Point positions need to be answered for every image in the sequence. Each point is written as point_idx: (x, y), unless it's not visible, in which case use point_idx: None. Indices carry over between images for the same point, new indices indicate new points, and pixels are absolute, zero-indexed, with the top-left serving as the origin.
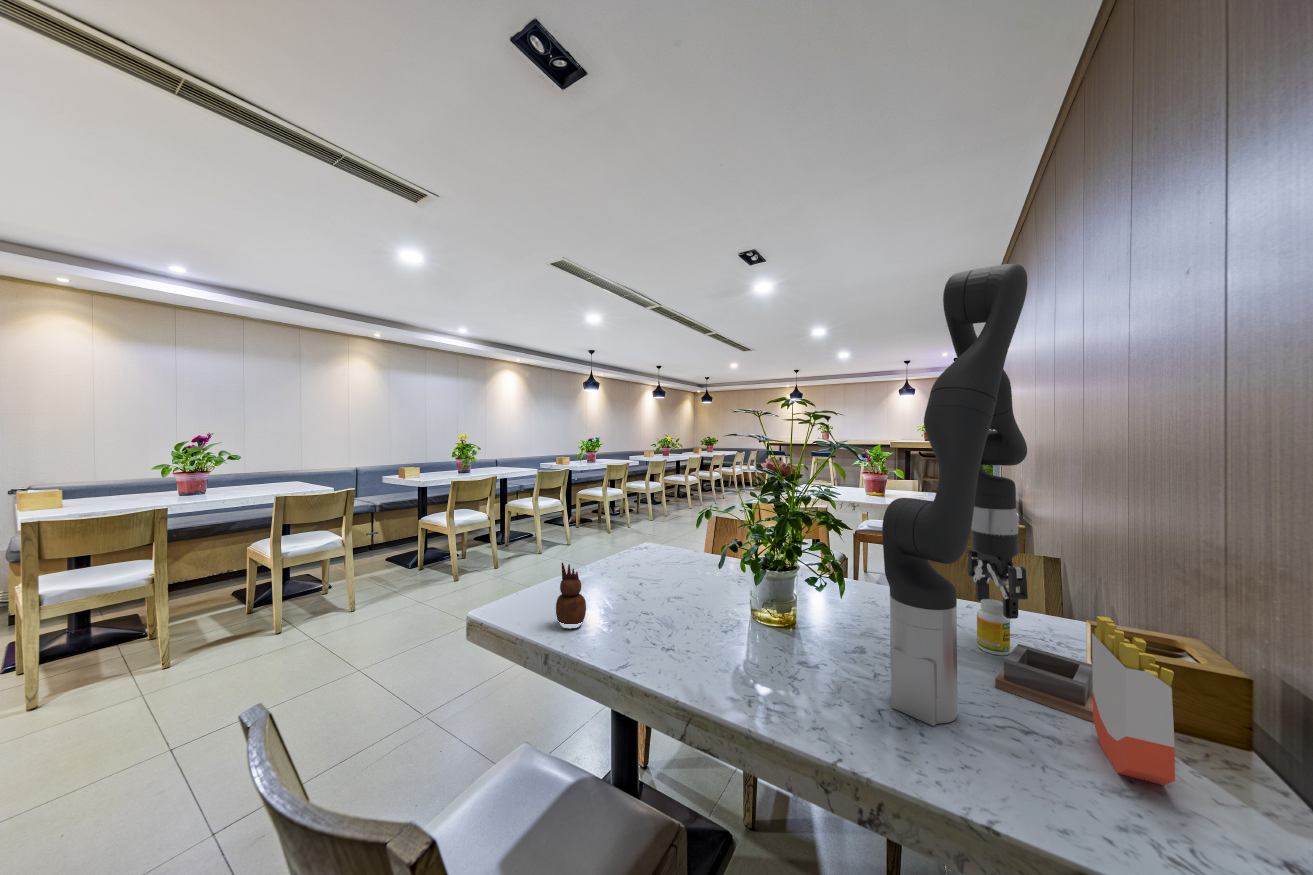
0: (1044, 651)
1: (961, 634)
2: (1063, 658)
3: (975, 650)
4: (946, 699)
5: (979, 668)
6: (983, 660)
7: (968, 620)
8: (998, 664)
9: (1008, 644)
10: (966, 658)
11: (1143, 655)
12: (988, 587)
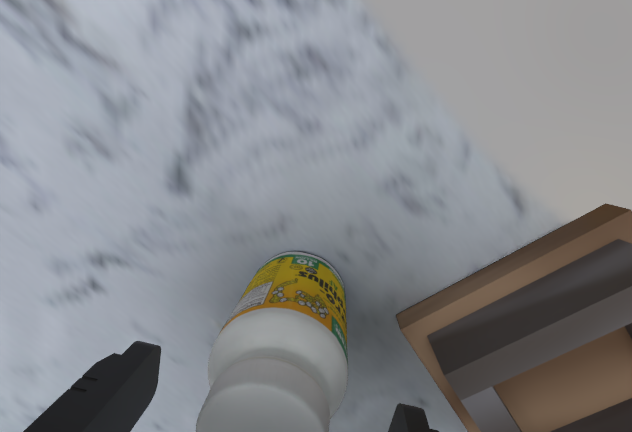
0: (525, 338)
1: (185, 305)
2: (595, 323)
3: None
4: None
5: None
6: (360, 379)
7: (63, 183)
8: (390, 358)
9: (343, 297)
10: (342, 414)
11: None
12: (95, 419)
